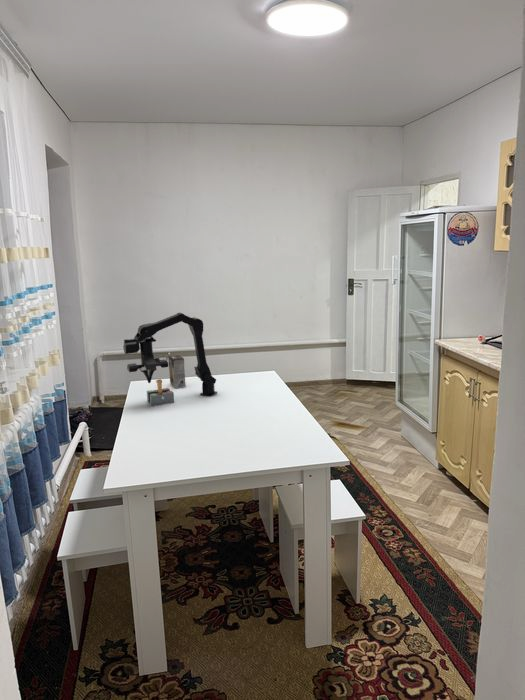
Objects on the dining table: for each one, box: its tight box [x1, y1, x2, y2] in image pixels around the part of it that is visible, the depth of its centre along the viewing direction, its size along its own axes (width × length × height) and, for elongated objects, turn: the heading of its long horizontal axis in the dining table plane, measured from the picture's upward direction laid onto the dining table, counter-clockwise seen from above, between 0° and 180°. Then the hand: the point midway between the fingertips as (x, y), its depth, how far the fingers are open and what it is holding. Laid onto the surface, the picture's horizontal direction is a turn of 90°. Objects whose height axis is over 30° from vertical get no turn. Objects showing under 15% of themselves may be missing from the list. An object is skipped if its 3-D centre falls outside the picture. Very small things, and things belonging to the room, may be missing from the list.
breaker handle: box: [155, 379, 163, 393], centre depth 256 cm, size 2×2×8 cm
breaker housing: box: [146, 387, 175, 407], centre depth 257 cm, size 11×10×5 cm
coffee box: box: [167, 354, 186, 389], centre depth 283 cm, size 9×6×16 cm
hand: (149, 382), depth 254 cm, fingers closed
